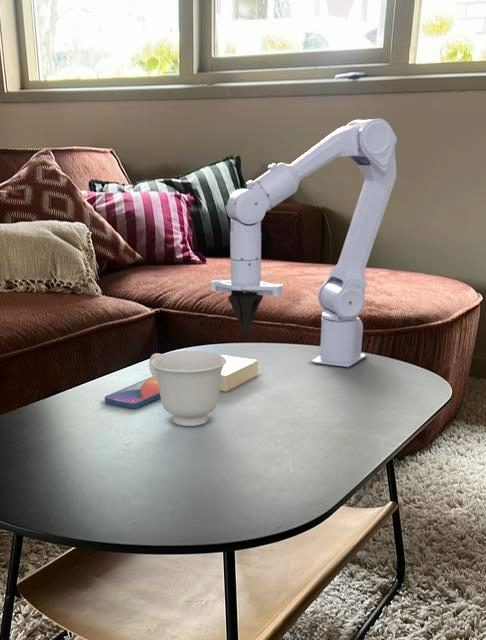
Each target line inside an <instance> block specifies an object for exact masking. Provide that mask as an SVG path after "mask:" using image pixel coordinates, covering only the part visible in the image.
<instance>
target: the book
mask: <svg viewBox="0 0 486 640" xmlns="http://www.w3.org/2000/svg"><path fill="white" fill-rule="evenodd" d="M220 355H221V356H223V357H224V358H225V359H226V360H227V362H226V364H225V365H224V366H223V369H222V374H221V381H220V390H219V392H228V391H230V390H233V389H234V388H236V387H238V386H240V385H242V384H244V383H245V382H247V381H250V380H251V379H253V378H255V377H257V376H258V374H259V373H258V371H259V369H258V367H259V365H258V364H259V360H257V359H250V358H245V357H237V356H230V355H223V354H220Z"/></svg>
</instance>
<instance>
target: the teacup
mask: <svg viewBox="0 0 486 640" xmlns="http://www.w3.org/2000/svg"><path fill="white" fill-rule="evenodd" d="M221 355H222V354H219V353H216V352H211V351H204V350H203V351H201V350H186V351H185V350H182V351H172V352H167V353H163V354H161V353H157V352H156V353H153V354H152V355H151V356H150V358H149V361H148V366H149V371H150V374H151V375H152V377H154V378H155V379H156V380H157V381H158V386H159V391H160V397H159V398H160V401H161V404H162V406H163V409H164V410H165V412H167V413H168V414H170V415H172V416H173V418H172V422H173V423H174V424H175V425H178V426H183V427H196V426H201V425H204V424H205V423H207V422H208V421H209V417H208V415H209V414H211V413H212V412H213V411H214V410H215V409H216V408H217V405H218V402H219V397H220V381H221V374H222V369H223V366H224V365H225V364H226V362H227V360H226V359H225V358H224V357H223V356H221Z"/></svg>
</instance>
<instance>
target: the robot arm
mask: <svg viewBox="0 0 486 640" xmlns="http://www.w3.org/2000/svg"><path fill="white" fill-rule="evenodd" d="M397 141H398V138H397V135H396V134H395V132H394V130H393V128H392V127H391V125H390V123H389V122H388V121H386V120H385V119H384V118H383V119H382V118H373V119H365V120H364V119H355V120H352V121H350V122H348V123H347V124H346V126H345V125H344V126H341V127H340V128H337V129H336V130H334V131H333V132H332V133H330V134H329V135H327V136H326V137H325V138H323V139H322V140H321V141H320V142H318V143H317V144H316V145H314V146H313V147H311V148H310V149H309V150H308V151H307V152H305V153H304V154H302V155H301V156H300V157H298V158H297V159H296V160H294V161H293V162H292V163H290V164H288V163H285V162H279V163H278V164H277V163H272V164H269V165H268V166H267V169H268V171H266V172H265V173H263V174H262V175H261V176H259V177H257V178H256V179H255V180H251V179H250V180H248V181H247V182H246V183H245V184H246V188H239V189H237V190H235V191H233V192H232V193H231V195H230V196H229V198H228V200H227V204H226V205H225V211H226V214H227V216H228V217H229V218H230V233H229V242H230V243H229V244H230V245H229V248H230V249H229V250H230V253H229V254H230V256H229V257H230V259H229V260H230V279H213V280H211V281H210V292H222V293H224V292H225V293H231V294H230V295H229V296H227V298H228V299H227V300H228V302H229V303H230V305H231V307H232V309H233V311H234V314H235V316H236V320H237V322H238V323H237V324H238V328H239V331H240V333H243V334H248V333H249V332H251V331H252V330H253V329H252V328H253V324H254V320H255V317H256V313H257V310H258V308H259V306H260V304H261V302H262V300H263V298H264V296H271V297H274V298H279V297H281V296H283V284H277V283H272V282H271V283H270V282H265V281H262V221H263V219H264V217H265V215H266V212H269V211H270V210H272V209H273V208H274V207H276V206H278V205H279V204H281V203H282V202H283V201H285V200H287V199H288V198H289V197H291V196H292V195H294V194H295V193H297V191H298V189H299V184H300V182H301V180H303V179H305V178H306V177H308V176H310V175H311V174H313V173H314V172H316V171H318V170H319V169H321V168H322V167H324V166H325V165H327V164H329V163H331V162H332V161H334V160H336V159H337V158H342V157H343V158H346V157H349V158H350V160H352V161H353V162H354V163H355V164H356V165H357V167H358V168H359V171H360V172H361V175H362V177H363V178H364V182H363V184H362V188H361V191H360V193H359V197H358V200H357V203H356V207H355V209H354V212H353V216H352V219H351V221H350V225H349V228H348V231H347V235H346V238H345V240H344V243H343V247H342V249H341V253H340V256H339V258H338V261H337V264H335V266H334V267H333V268H332V269H331V270H330V271H329V273H328V277H327V278H326V280H325V281H324V283H323V284H321V285H320V287H319V290H318V294H317V299H318V303H319V305H320V307H321V308H322V313H321V327H320V329H321V330H320V344H319V345H320V346H319V347H320V348H319V356H317V357H315V358H313V359H312V360H311V362H312V363H314V364H320V365H321V364H322V365H329V366H335V367H343V368H349V367H351V366H353V365H354V364H356V363H358V362H359V361H361V360H363V359H364V358H365V357H366V354H364V353H362V347H363V333H364V325H363V321H362V320H361V318H360V316H359V315H360V314H361V313H362V311H363V310H364V307H365V303H366V297H365V294H366V293H365V291H366V288H367V285H368V283H367V278H366V274H365V270H366V267H367V263H368V262H369V258H370V256H371V252H372V250H373V246H374V244H375V241H376V238H377V236H378V235H377V234H378V232H379V228H380V226H381V224H382V220H383V217H384V215H385V211H386V209H387V205H388V203H389V200H390V197H391V193H392V190H393V188H394V185H395V182H396V178H397V162H396V149H395V147H396V144H397Z"/></svg>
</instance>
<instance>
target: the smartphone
mask: <svg viewBox="0 0 486 640" xmlns="http://www.w3.org/2000/svg"><path fill="white" fill-rule="evenodd" d="M159 398H161V397H160V391H159V386H158V381H157V380H156V379H155V378H154V377H153V376H151V377H148V378H145V379H144V380H141V381H137V382H136V383H134V384H132V385H130V386H126V387H124V388H122V389H119V390H117V391H115V392H112V393H110V394H108V395H105V396H104V402H105V403H106V404H111V405H114V406H120V407H125V408H128V409H136V408H140V407H142V406H144V405H146V404H149V403H151V402H153V401H155V400H157V399H159Z"/></svg>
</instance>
